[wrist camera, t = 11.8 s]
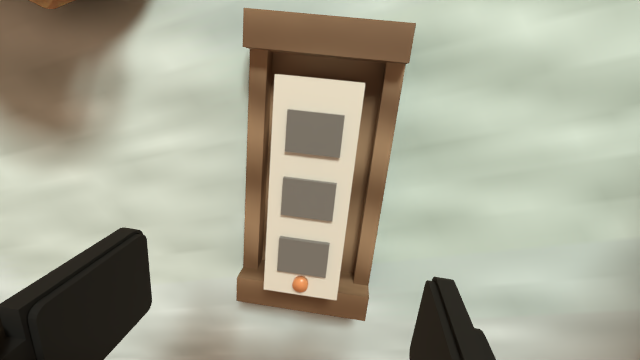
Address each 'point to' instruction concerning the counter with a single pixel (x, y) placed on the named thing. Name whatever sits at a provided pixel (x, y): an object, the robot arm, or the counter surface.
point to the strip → (310, 182)
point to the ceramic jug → (51, 3)
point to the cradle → (372, 148)
